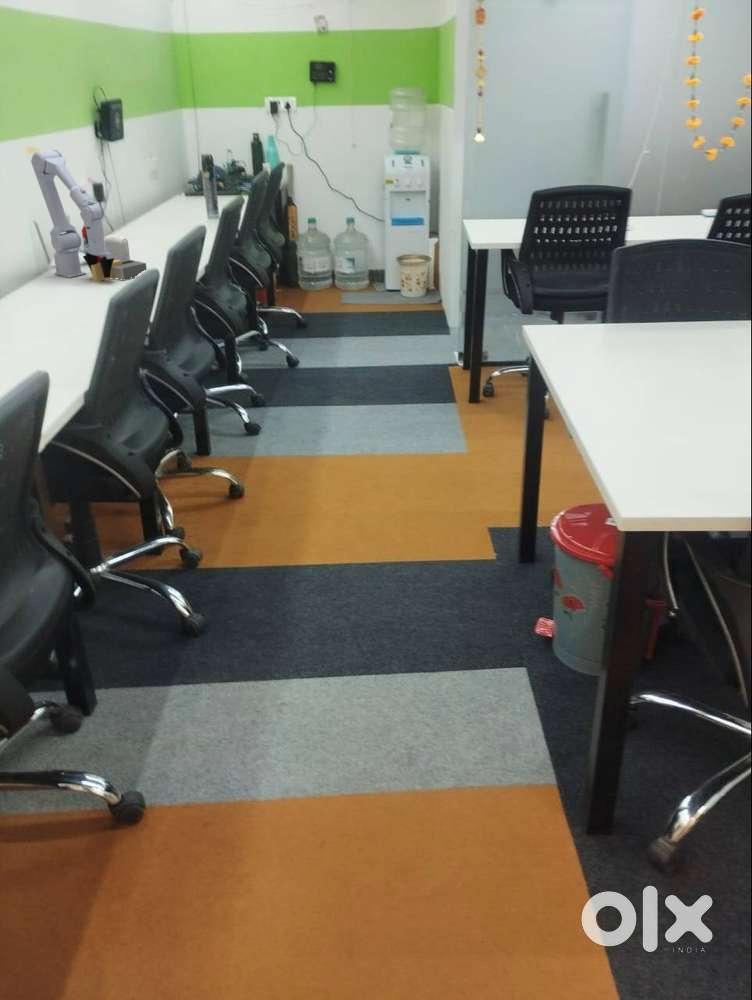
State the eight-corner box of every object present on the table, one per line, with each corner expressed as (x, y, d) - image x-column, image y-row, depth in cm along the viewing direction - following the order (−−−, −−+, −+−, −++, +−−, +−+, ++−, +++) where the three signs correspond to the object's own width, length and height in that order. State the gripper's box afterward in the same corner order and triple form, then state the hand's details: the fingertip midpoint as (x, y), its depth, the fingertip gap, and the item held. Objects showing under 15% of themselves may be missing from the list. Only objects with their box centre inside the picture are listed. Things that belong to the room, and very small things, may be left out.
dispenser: (100, 275, 324) (99, 263, 322) (125, 269, 332) (123, 258, 330) (122, 280, 317) (121, 268, 315) (147, 275, 325) (145, 263, 323)
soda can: (109, 261, 345) (104, 223, 338) (102, 265, 338) (96, 227, 331) (91, 260, 346) (85, 223, 339) (83, 265, 339) (77, 226, 332)
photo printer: (132, 267, 336) (128, 235, 331) (125, 269, 333) (120, 237, 327) (113, 264, 341) (109, 232, 335) (106, 266, 338) (101, 234, 332)
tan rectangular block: (93, 281, 316) (90, 265, 313) (119, 275, 324) (117, 259, 322) (97, 282, 315) (94, 266, 312) (123, 276, 323) (121, 260, 320)
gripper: (117, 239, 309) (122, 276, 316) (92, 234, 317) (98, 270, 323) (100, 242, 304) (106, 280, 311) (76, 237, 312) (82, 274, 318)
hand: (101, 275), depth 317 cm, fingers open, 7 cm apart
